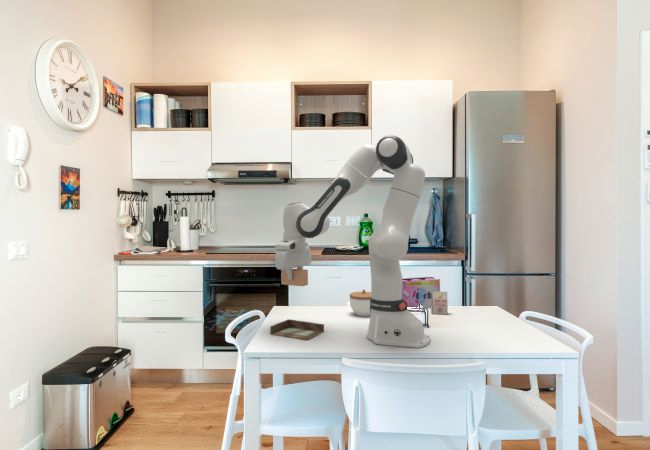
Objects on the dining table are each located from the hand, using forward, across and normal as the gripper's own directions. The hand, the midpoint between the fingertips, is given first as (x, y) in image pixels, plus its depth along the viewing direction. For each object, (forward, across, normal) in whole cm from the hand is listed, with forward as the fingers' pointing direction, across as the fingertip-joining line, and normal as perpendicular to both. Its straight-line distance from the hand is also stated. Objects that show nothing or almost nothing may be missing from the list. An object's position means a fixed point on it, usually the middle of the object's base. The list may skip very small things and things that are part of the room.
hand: (294, 278), depth 162 cm
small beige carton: (+20, -51, +44) cm, 70 cm away
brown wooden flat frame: (+19, +7, +6) cm, 21 cm away
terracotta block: (+2, 0, 0) cm, 2 cm away
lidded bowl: (+19, -32, +15) cm, 40 cm away
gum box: (+20, -59, +30) cm, 69 cm away
